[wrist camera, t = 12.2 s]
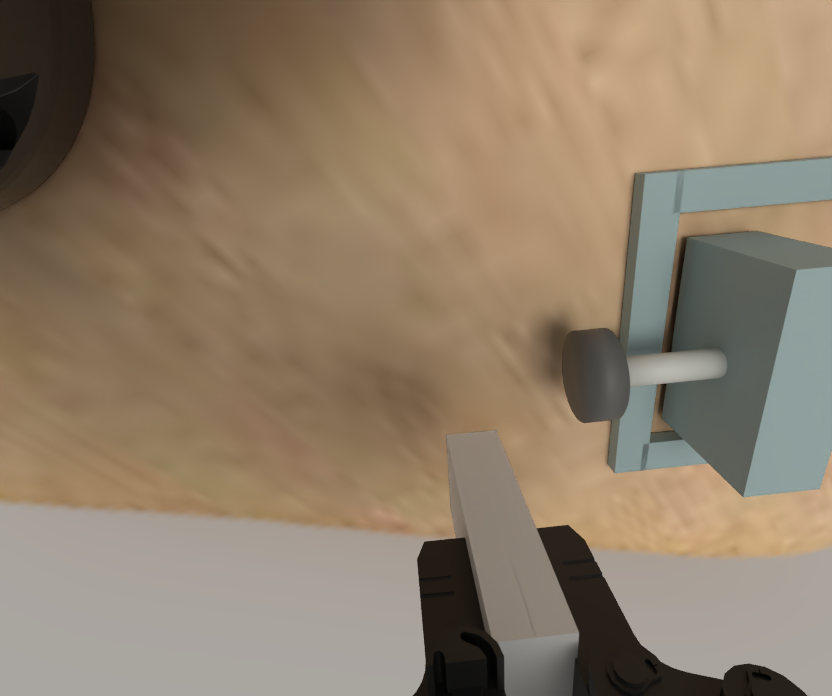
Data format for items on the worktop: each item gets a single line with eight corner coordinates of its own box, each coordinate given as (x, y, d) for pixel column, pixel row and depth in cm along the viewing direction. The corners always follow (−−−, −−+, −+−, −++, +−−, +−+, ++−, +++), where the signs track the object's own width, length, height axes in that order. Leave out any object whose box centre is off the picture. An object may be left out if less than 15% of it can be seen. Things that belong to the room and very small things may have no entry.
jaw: (548, 429, 24) (598, 513, 18) (555, 248, 20) (618, 286, 15) (733, 410, 24) (834, 487, 19) (770, 229, 20) (908, 259, 15)
